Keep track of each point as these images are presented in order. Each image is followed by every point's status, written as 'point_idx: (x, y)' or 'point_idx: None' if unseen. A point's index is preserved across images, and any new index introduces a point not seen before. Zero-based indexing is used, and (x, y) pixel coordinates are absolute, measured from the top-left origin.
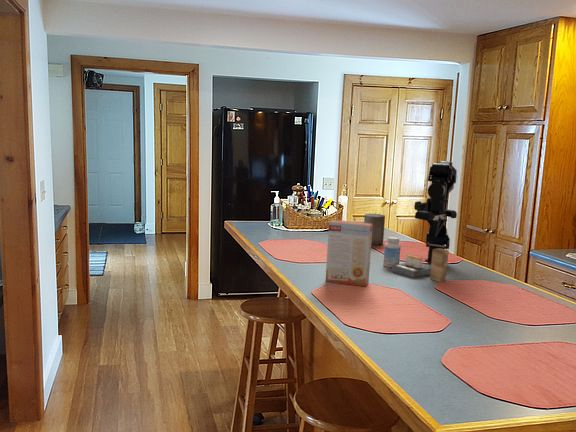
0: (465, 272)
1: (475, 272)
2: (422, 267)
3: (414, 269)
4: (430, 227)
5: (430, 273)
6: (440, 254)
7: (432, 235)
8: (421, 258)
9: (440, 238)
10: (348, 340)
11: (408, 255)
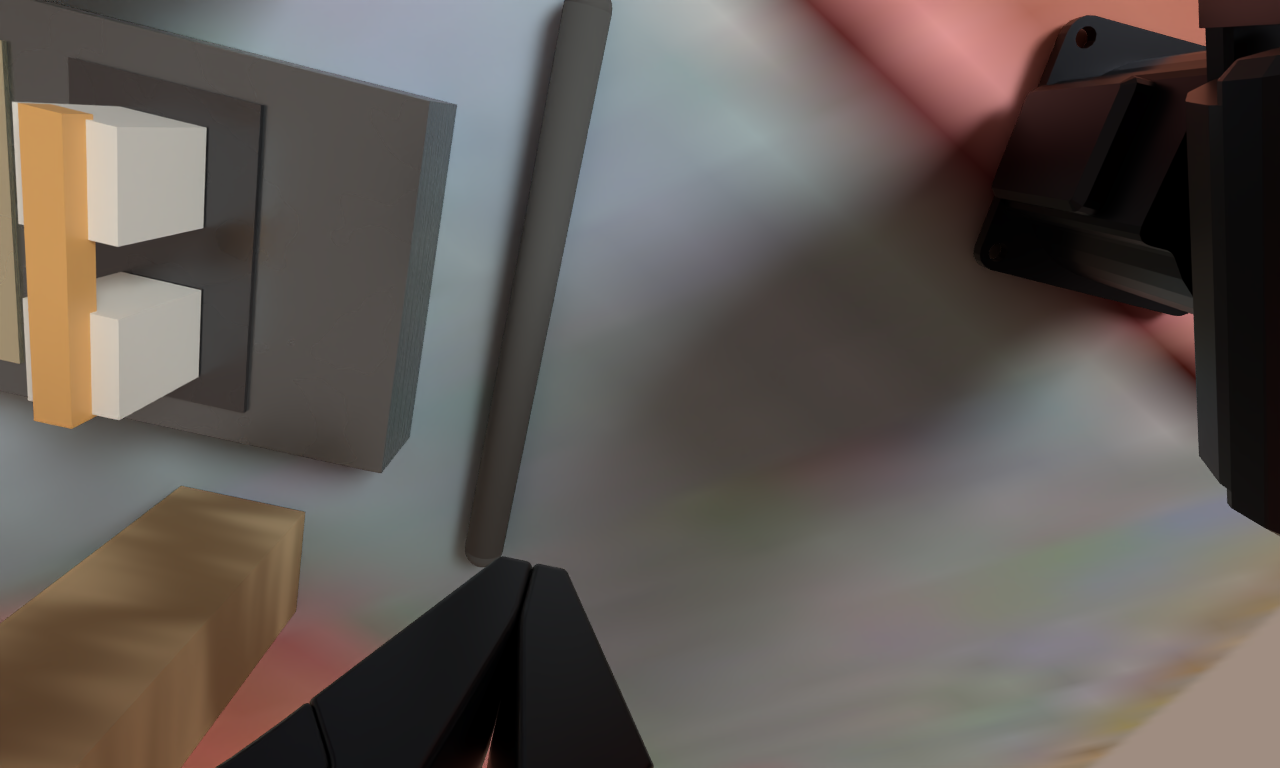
0: (802, 634)
1: (887, 698)
2: (218, 374)
3: (12, 348)
4: (273, 741)
5: (140, 520)
6: None
7: (478, 581)
8: (56, 424)
9: (1258, 421)
10: None
11: (21, 152)
